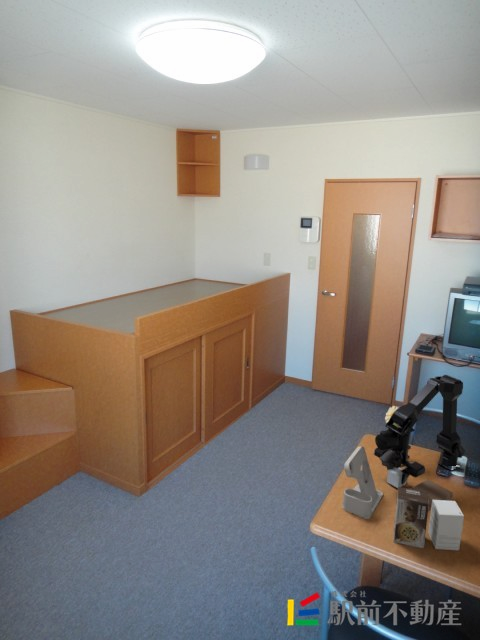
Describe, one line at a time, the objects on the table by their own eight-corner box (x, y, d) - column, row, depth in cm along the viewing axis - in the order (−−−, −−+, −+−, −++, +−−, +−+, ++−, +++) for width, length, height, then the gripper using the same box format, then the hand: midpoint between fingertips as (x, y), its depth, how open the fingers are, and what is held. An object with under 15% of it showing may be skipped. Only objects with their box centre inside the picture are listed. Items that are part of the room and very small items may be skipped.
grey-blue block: (394, 477, 174) (396, 465, 172) (406, 483, 170) (407, 472, 168) (386, 481, 171) (387, 470, 170) (397, 488, 167) (399, 476, 166)
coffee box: (423, 535, 145) (428, 491, 140) (424, 549, 139) (430, 504, 135) (393, 528, 147) (398, 485, 143) (392, 542, 141) (398, 497, 137)
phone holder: (368, 520, 151) (373, 473, 147) (339, 509, 156) (343, 463, 152) (383, 494, 165) (388, 450, 161) (356, 484, 170) (360, 441, 166)
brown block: (426, 485, 170) (427, 478, 169) (451, 499, 162) (452, 492, 161) (410, 495, 164) (411, 488, 164) (435, 510, 156) (436, 502, 156)
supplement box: (450, 534, 145) (456, 500, 142) (459, 551, 138) (465, 516, 135) (427, 532, 146) (431, 498, 143) (434, 549, 139) (439, 514, 136)
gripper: (366, 438, 169) (362, 475, 173) (409, 461, 154) (404, 501, 158) (385, 430, 175) (381, 466, 179) (428, 451, 160) (423, 490, 164)
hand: (396, 480), depth 170 cm, fingers closed on grey-blue block, 5 cm apart
